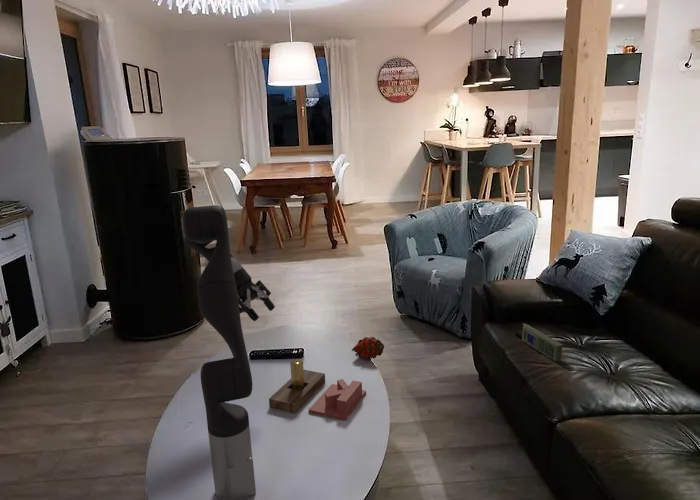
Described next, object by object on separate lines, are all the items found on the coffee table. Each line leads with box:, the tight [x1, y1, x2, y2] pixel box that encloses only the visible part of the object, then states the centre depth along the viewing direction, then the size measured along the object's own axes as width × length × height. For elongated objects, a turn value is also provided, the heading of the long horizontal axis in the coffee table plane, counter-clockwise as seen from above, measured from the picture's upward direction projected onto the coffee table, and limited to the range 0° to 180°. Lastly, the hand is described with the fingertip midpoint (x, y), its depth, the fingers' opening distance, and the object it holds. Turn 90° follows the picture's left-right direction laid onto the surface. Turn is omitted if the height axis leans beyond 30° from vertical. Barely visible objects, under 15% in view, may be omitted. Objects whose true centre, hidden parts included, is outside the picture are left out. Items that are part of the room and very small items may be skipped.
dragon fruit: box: [351, 336, 385, 361], centre depth 181 cm, size 8×8×12 cm
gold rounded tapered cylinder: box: [289, 359, 305, 391], centre depth 158 cm, size 4×4×11 cm
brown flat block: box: [268, 369, 326, 414], centre depth 159 cm, size 9×20×3 cm, turn 156°
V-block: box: [308, 378, 367, 422], centre depth 153 cm, size 12×16×5 cm
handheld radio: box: [514, 323, 564, 362], centre depth 185 cm, size 7×3×25 cm
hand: (265, 314), depth 158 cm, fingers open, 8 cm apart
